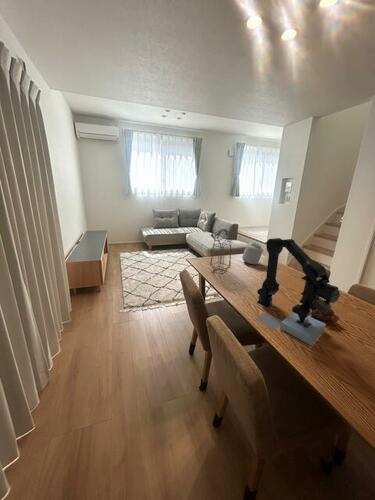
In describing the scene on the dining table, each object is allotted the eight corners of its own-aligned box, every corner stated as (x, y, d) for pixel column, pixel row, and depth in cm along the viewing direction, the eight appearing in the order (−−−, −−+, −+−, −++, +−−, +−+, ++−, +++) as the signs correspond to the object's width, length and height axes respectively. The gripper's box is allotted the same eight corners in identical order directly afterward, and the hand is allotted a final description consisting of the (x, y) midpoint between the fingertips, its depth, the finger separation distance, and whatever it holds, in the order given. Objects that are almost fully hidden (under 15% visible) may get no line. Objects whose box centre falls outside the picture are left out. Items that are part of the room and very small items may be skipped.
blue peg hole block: (279, 329, 99) (281, 322, 98) (294, 316, 109) (295, 310, 107) (310, 346, 89) (312, 338, 87) (324, 331, 98) (326, 324, 97)
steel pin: (296, 325, 98) (300, 307, 95) (300, 322, 101) (304, 304, 98) (305, 330, 95) (309, 311, 92) (308, 326, 98) (313, 308, 95)
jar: (261, 261, 191) (265, 235, 184) (264, 267, 177) (268, 239, 170) (241, 259, 194) (244, 233, 187) (242, 265, 180) (245, 237, 173)
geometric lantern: (206, 270, 166) (209, 228, 156) (218, 266, 176) (222, 226, 167) (221, 276, 155) (225, 231, 145) (233, 272, 165) (238, 229, 156)
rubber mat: (256, 320, 105) (256, 319, 105) (266, 313, 111) (266, 312, 111) (274, 330, 98) (274, 329, 98) (284, 322, 104) (284, 321, 104)
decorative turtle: (305, 308, 116) (309, 296, 114) (336, 321, 108) (342, 308, 105) (301, 315, 109) (306, 302, 107) (335, 330, 100) (341, 316, 98)
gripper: (323, 306, 81) (314, 338, 85) (338, 292, 92) (329, 321, 97) (294, 295, 89) (288, 325, 94) (311, 283, 100) (305, 310, 105)
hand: (303, 320), depth 97 cm, fingers closed on steel pin, 4 cm apart
